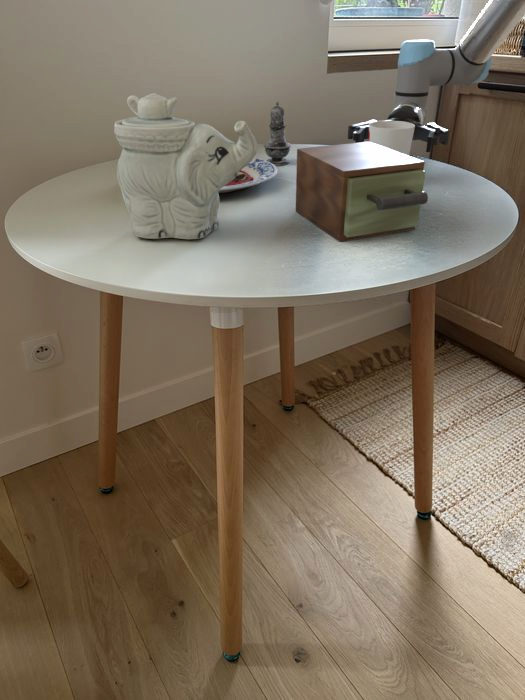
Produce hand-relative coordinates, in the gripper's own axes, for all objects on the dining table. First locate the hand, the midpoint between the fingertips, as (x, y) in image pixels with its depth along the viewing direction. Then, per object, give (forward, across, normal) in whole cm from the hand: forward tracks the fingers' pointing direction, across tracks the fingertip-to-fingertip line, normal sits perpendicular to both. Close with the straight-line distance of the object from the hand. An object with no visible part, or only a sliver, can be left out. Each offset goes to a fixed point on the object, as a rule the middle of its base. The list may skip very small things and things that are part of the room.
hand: (392, 142), depth 104 cm
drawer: (+32, -1, -5) cm, 33 cm away
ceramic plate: (+15, +32, -6) cm, 36 cm away
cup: (+5, 0, -6) cm, 8 cm away
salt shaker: (-3, +24, -6) cm, 25 cm away
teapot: (+41, +24, -6) cm, 48 cm away
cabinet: (+29, +2, -6) cm, 30 cm away
